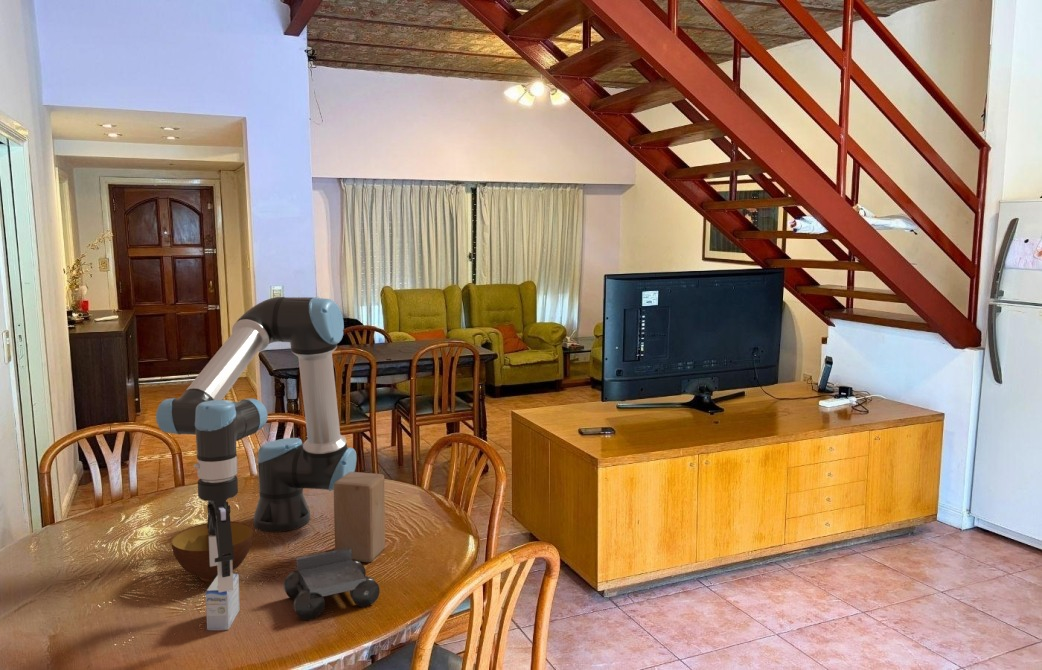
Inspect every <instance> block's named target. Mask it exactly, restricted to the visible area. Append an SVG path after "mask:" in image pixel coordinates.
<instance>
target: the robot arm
mask: <svg viewBox="0 0 1042 670" xmlns="http://www.w3.org/2000/svg"><path fill="white" fill-rule="evenodd" d="M344 324H345V323H344V317H343V314H342V311H341V308H340V307H339V305H338V304H337V303H336V302H335V301H334V300H333V299H331V298H322V297H321V298H320V297H317V296H316V297H308V296H307V297H304V296H303V297H300V296H298V297H293V296H292V297H289V296H288V297H286V296H275V297H271V298H268V299H266V300H262V301H261V302H259V303H257V304H255V305H254V306H252V307H251V308H249V309H248V310H246V311H245V312H244V313H243V314H242V315H241V316H240V317H239V318H238V319H237V320H236V321H235V323H234V324H233V325H232V327H231V335H230V336H229V337H228V338H227V339H226V341H224V343H223V344H222V346H221V347H220V348H219V349H218V351H216V353H215V354H214V355H213V356H212V357H211V358H210V360H209V361H208V362H207V363H206V365H205V366H204V367H203V369H202V370H201V372H199V374H198V375H197V376H196V378H195V379H194V380H193V381H192V382H191V384H190V385H189V386H188V387H187V388H186V390H185V391H184V392H183V393H182V395H180V397H179V398H176V397H173V398H166V399H164V400H162V401H161V403H159V405H158V407H157V410H156V415H155V419H156V424H157V427H158V428H159V430H161V431H162V432H164V433H167V434H174V435H175V434H176V435H189V436H190V435H191V436H193V435H195V443H196V461H197V463H194V464H193V468H194V469H197V478H198V480H197V497H198V498H199V499H200V500H202V501H205V502H207V504H206V505H207V506H206V508H207V522H206V523H207V528H208V529H209V530H208V533H209V535H211V536H209V558H210V567H211V566H217V568H218V592H225V591H230V590H233V574H234V572H233V571H234V570H233V564H232V560H234V555H233V545H232V534H231V506H230V505H229V501H227V500H229V499H232V498H234V497H235V496H236V495H237V494H238V492H239V487H238V486H239V484H238V482H239V480H238V477H237V475H238V453H237V441H240V440H242V439H244V438H247V437H248V436H252V435H255V434H256V433H258V432H259V431H260V430H262V429H263V428H264V427H265V426H266V423H267V421H268V416H269V415H268V410H267V408H266V405H264V404H263V403H262V402H261V401H260V400H258V399H256V398H247V399H245V398H243V399H241V400H239V401H231V400H229V399H228V400H227V399H224V398H225V396H226V395H227V393H228V392H229V391H230V390H231V389H232V388H233V386H234V385H235V383H236V382H237V381H238V379H239V377H240V376H241V375H242V374H243V372H244V371H245V370H246V368H247V367H248V366H249V364H250V363H251V362H252V360H253V359H254V358H255V356H256V355H257V354H258V352H262V351H263V350H265V349H266V348H267V347H268V346H269V344H272V343H277V342H278V343H279V342H281V343H290V344H289V345H290V351H291V353H292V354H293V355H294V356H296V357H297V358H298V366H299V374H300V383H301V384H300V385H301V392H302V400H303V409H304V418H305V426H306V427H305V428H306V434H307V435H306V436H307V439H306V440H305V441H304V442H303V440H302V439H301V438H298V437H288V438H281V439H276V440H272V441H268V442H266V443H264V444H262V445H261V446H260V447H259V449H258V452H257V454H258V455H257V467H258V470H257V471H258V472H257V474H258V489H259V490H258V491H259V492H258V493H259V496H258V497H259V498H258V501H257V505H256V508H255V510H254V515H253V527H254V528H255V529H257V530H259V531H264V532H268V533H269V532H271V533H273V532H274V533H279V532H280V533H281V532H286V531H288V532H289V531H293V530H297V529H299V528H300V529H301V528H302V527H304V526H306V525H307V524H309V523H310V521H311V510H310V508H309V505H308V502H307V499H306V497H305V495H304V489H309V490H324V491H325V490H327V491H329V492H330V491H334V483H335V482H336V481H338V480H339V479H340V478H342V477H343V476H345V475H346V474H347V473H349V472H356V471H355V470H356V468H357V467H356V466H357V452H356V450H355V448H353V447H350V446H349V447H348V442H347V438H346V436H344V435H342V434H341V430H340V428H341V427H340V419H339V411H338V410H339V409H338V408H339V407H338V399H337V392H336V391H337V390H336V381H335V380H336V379H335V371H334V360H333V353H334V351H336V349H338V344H339V343H340V342H341V341H342V339H343V336H344V329H345V325H344ZM226 553H229V554H226ZM223 554H224V555H223Z"/></svg>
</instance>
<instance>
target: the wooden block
mask: <svg viewBox="0 0 1042 670" xmlns="http://www.w3.org/2000/svg"><path fill="white" fill-rule="evenodd" d="M385 489H386V488H385V475H384V474H382V473H372V472H371V473H370V472H369V473H368V472H359V471H358V472H357V471H355V472H349V473H347V474H346V475H345V476H343V477H342V478H340V479H339V480H338V481H336V482H335V483H334V490H333V516H334V517H333V520H334V522H333V523H334V525H333V526H334V550H339V549H344V548H349V547H350V548H351V556H352V559H356V560H358V561H360V562H361V563H371V562H373V561H374V560H375V559H376V558H377V557H378V555H380V554H381V552H382V551H384V550H385V547H386V509H385V508H386V506H385V503H386V502H385V501H386V500H385V493H386V491H385Z"/></svg>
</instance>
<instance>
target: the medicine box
mask: <svg viewBox="0 0 1042 670" xmlns="http://www.w3.org/2000/svg"><path fill="white" fill-rule="evenodd" d="M205 607H206V609H205V611H206V612H205V613H206V630H207V631H229V629H230V628H231V626H232V624H233V623H234V621H235V620H236V617H237V615H238V613H239V612H240V577H239V574H238V573H233V590H230V591H225V592H218V575H217V576H216V578H215V579H214V581H213V582H211V583H210V585H209V586H208V588H207V589H206V591H205Z"/></svg>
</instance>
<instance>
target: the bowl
mask: <svg viewBox="0 0 1042 670" xmlns="http://www.w3.org/2000/svg"><path fill="white" fill-rule="evenodd" d="M230 521H231V520H230ZM207 523H208V522H205V523H201V524H196V525H193V526H191V527H187V528H185V529H183V530H181V531H179V532H177V533H176V534H174V536H173V537H172V538H171V550H172V552H173V555H174V557H175V559H176V562H178V564H179V566H181V568H182V569H183V570H185V571H186V573H188V574H190V575H192V576H193V577H194V576H195V577H197V578H200V580H201V581H203V582H206V583H207V582H208V583H209V582H210V583H212V582H213V581H214V579H215V578H216V576H217V575H218V568H217V566H211V567H210V558H209V536H211V535H209V533H208V530H209V529H208V528H207ZM231 534H232V545H233V555H234V560H232V564H233V571H235V570H236V569H237V568H238V567H240V565H241V564H242V563H243V561H245V560H244V559H246V557H247V555H248V553H249V551H250V549H251V546H252V543H253V538H254V537H253V536H254V530H253V527H252V526H250V525H249V524H247V523H245V522H244V523H243V522H240V521H231ZM226 554H229V553H226ZM223 555H224V554H223Z"/></svg>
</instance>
